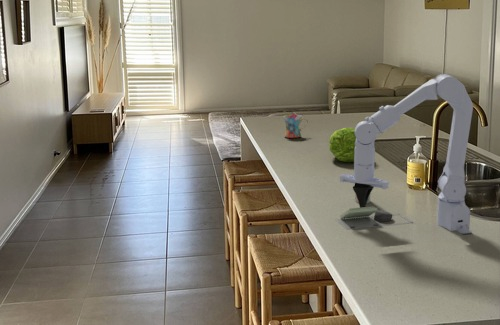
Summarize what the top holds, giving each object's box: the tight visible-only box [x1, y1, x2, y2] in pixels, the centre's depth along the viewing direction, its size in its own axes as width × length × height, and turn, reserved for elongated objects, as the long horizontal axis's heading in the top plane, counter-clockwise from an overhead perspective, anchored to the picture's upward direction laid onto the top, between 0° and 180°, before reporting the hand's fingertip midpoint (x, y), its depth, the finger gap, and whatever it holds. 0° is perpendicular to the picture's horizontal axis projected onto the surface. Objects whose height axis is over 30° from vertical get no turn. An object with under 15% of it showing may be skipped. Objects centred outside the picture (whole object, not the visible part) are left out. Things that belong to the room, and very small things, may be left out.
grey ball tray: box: [336, 213, 414, 230], centre depth 190 cm, size 9×20×2 cm, turn 103°
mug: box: [283, 114, 308, 139], centre depth 323 cm, size 12×9×11 cm
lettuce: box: [328, 127, 356, 163], centre depth 275 cm, size 17×24×14 cm
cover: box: [339, 206, 378, 219], centre depth 190 cm, size 7×9×1 cm
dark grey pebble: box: [373, 209, 393, 223], centre depth 191 cm, size 5×5×2 cm
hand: (363, 208), depth 189 cm, fingers closed, pressing on cover
